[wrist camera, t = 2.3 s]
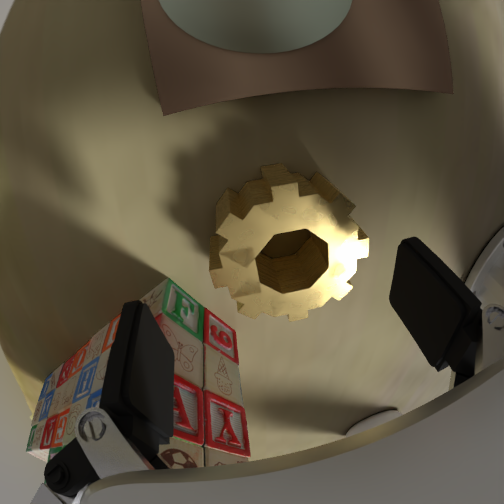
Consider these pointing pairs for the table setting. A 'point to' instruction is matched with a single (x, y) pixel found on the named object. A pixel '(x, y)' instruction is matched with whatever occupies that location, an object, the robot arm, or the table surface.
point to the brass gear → (292, 266)
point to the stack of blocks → (185, 386)
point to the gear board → (292, 47)
